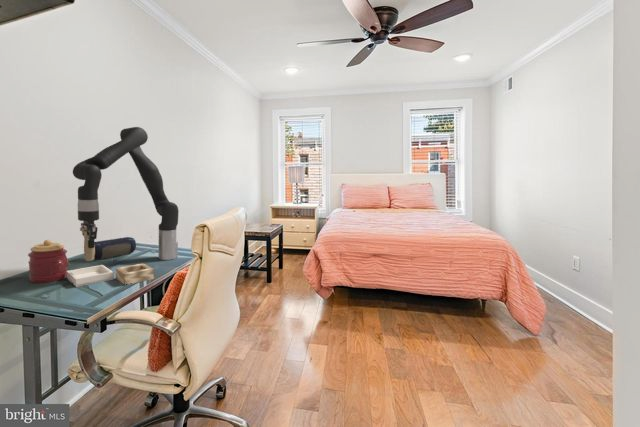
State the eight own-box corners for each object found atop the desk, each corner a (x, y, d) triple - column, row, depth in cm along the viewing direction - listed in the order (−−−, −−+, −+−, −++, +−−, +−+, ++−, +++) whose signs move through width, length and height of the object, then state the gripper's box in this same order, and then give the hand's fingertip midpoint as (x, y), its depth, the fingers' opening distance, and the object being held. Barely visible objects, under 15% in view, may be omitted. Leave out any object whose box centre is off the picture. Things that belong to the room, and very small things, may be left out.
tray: (102, 271, 148) (102, 264, 147) (113, 279, 139) (113, 272, 139) (66, 278, 136) (66, 270, 136) (76, 287, 128) (75, 279, 128)
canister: (74, 276, 139) (72, 239, 136) (39, 285, 127) (36, 245, 125) (58, 271, 144) (56, 235, 141) (23, 279, 132) (20, 240, 130)
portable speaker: (92, 263, 158) (91, 245, 157) (82, 259, 163) (81, 241, 161) (139, 253, 180) (139, 237, 179) (129, 250, 185) (129, 234, 183)
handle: (93, 262, 134) (92, 229, 132) (78, 261, 134) (77, 228, 132) (100, 258, 139) (99, 227, 137) (86, 258, 139) (85, 226, 137)
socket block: (143, 272, 150) (143, 263, 149) (153, 278, 143) (153, 268, 143) (115, 278, 140) (115, 268, 140) (125, 285, 134) (125, 274, 133)
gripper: (104, 211, 132) (105, 248, 135) (93, 206, 141) (94, 242, 143) (83, 212, 126) (84, 251, 129) (73, 207, 135) (74, 244, 137)
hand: (89, 246), depth 136 cm, fingers closed on handle, 4 cm apart
